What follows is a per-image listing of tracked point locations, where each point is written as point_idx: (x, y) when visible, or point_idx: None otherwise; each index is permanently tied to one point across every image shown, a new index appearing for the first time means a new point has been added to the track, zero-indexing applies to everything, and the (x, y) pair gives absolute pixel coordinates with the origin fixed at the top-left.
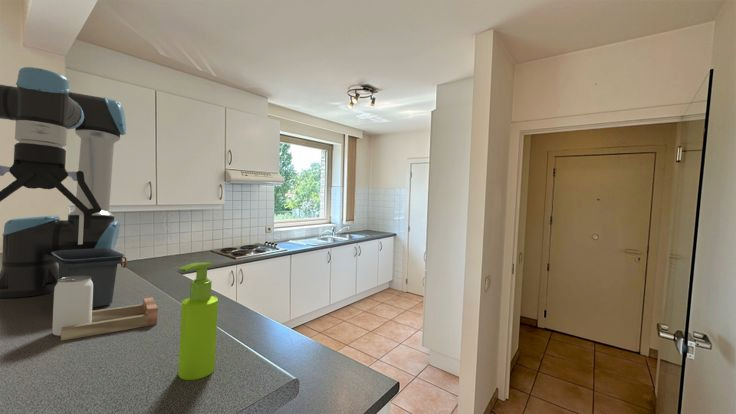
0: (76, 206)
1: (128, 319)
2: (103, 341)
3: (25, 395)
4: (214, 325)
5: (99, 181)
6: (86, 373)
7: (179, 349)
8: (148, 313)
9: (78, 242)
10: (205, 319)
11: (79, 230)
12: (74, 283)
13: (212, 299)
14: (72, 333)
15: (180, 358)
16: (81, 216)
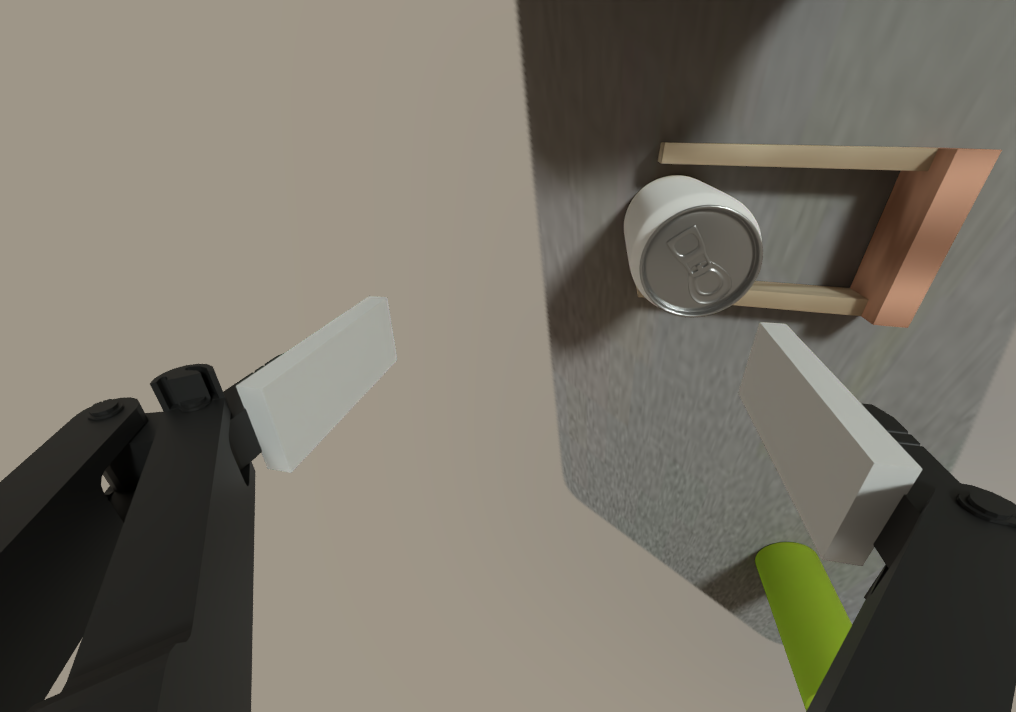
0: (839, 652)
1: (801, 309)
2: (711, 348)
3: (580, 476)
4: None
5: None
6: (652, 467)
7: (772, 594)
8: (867, 318)
9: (744, 400)
10: None
11: (773, 454)
12: (687, 312)
13: None
14: None
15: (765, 588)
16: (834, 554)
